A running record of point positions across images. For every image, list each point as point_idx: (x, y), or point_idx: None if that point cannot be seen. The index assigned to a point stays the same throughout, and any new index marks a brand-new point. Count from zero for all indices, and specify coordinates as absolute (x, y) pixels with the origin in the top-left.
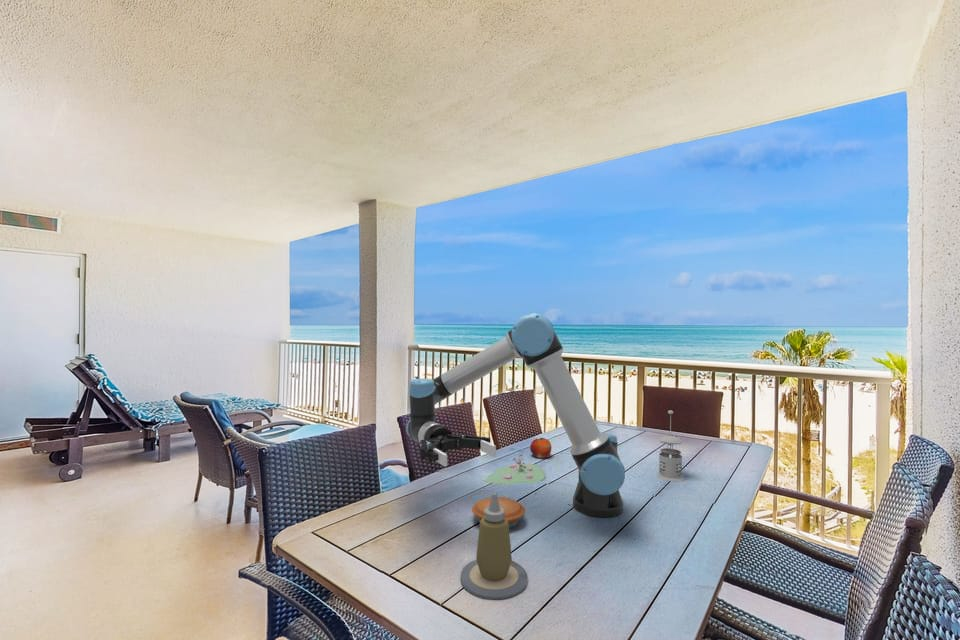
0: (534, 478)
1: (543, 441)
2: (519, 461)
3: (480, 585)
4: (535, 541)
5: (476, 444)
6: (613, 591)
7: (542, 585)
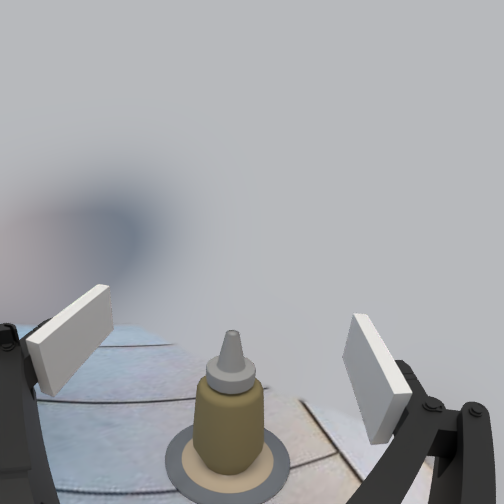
0: None
1: None
2: None
3: (267, 449)
4: (63, 478)
5: (29, 399)
6: (124, 368)
7: (177, 416)
